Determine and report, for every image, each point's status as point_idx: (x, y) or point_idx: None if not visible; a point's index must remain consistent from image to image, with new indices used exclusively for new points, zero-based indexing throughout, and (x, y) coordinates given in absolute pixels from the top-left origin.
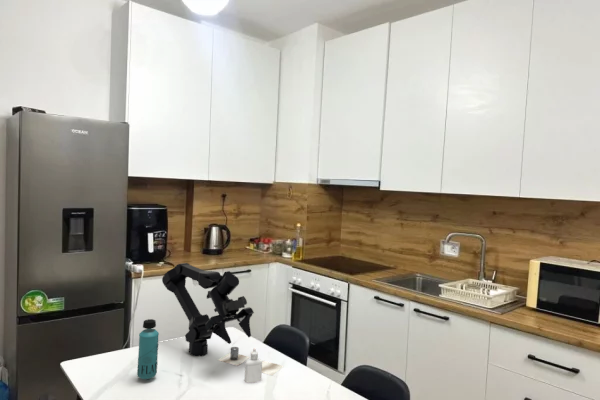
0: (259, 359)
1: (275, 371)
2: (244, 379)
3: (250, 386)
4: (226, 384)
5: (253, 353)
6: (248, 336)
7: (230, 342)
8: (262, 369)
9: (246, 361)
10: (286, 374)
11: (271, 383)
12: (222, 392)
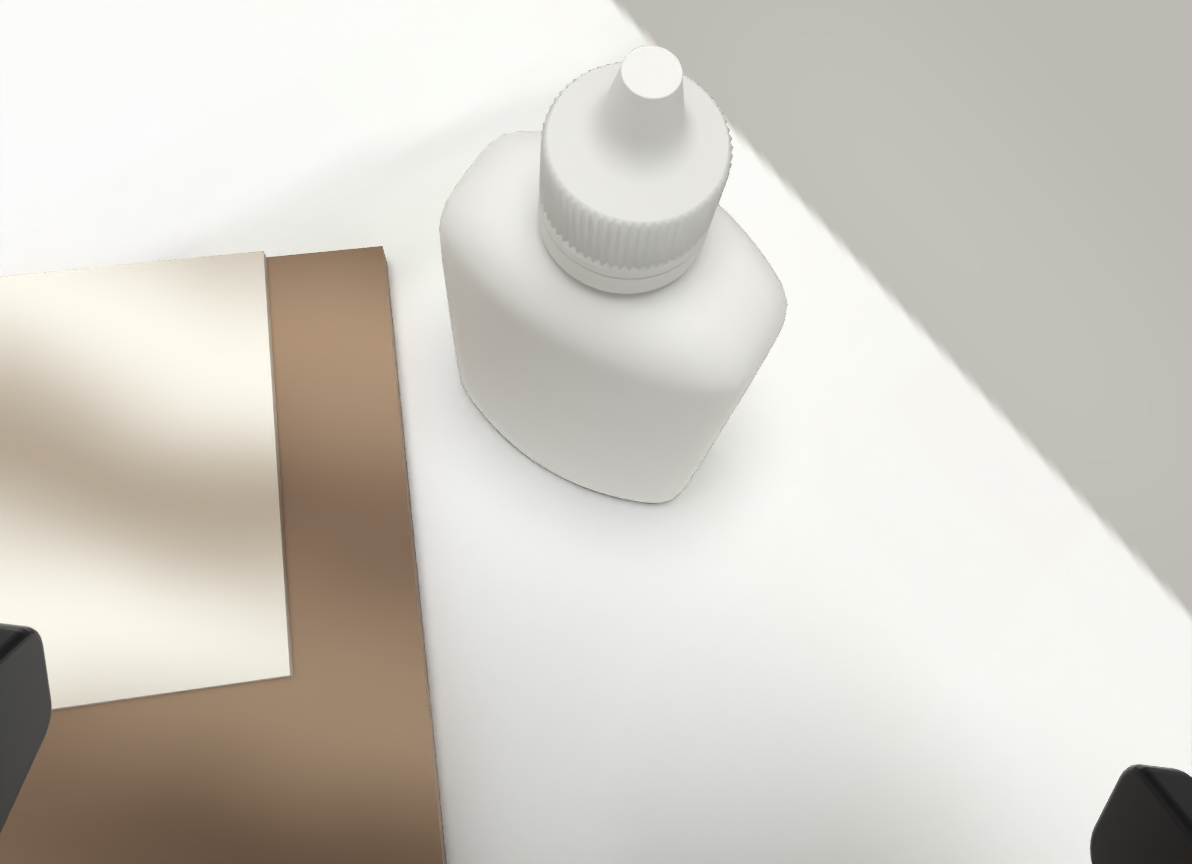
0: (516, 162)
1: (102, 288)
2: (688, 480)
3: None
4: (879, 700)
5: (712, 113)
6: (33, 739)
7: (1175, 770)
8: (162, 500)
9: (744, 355)
10: (17, 184)
11: (410, 202)
12: (1080, 574)
